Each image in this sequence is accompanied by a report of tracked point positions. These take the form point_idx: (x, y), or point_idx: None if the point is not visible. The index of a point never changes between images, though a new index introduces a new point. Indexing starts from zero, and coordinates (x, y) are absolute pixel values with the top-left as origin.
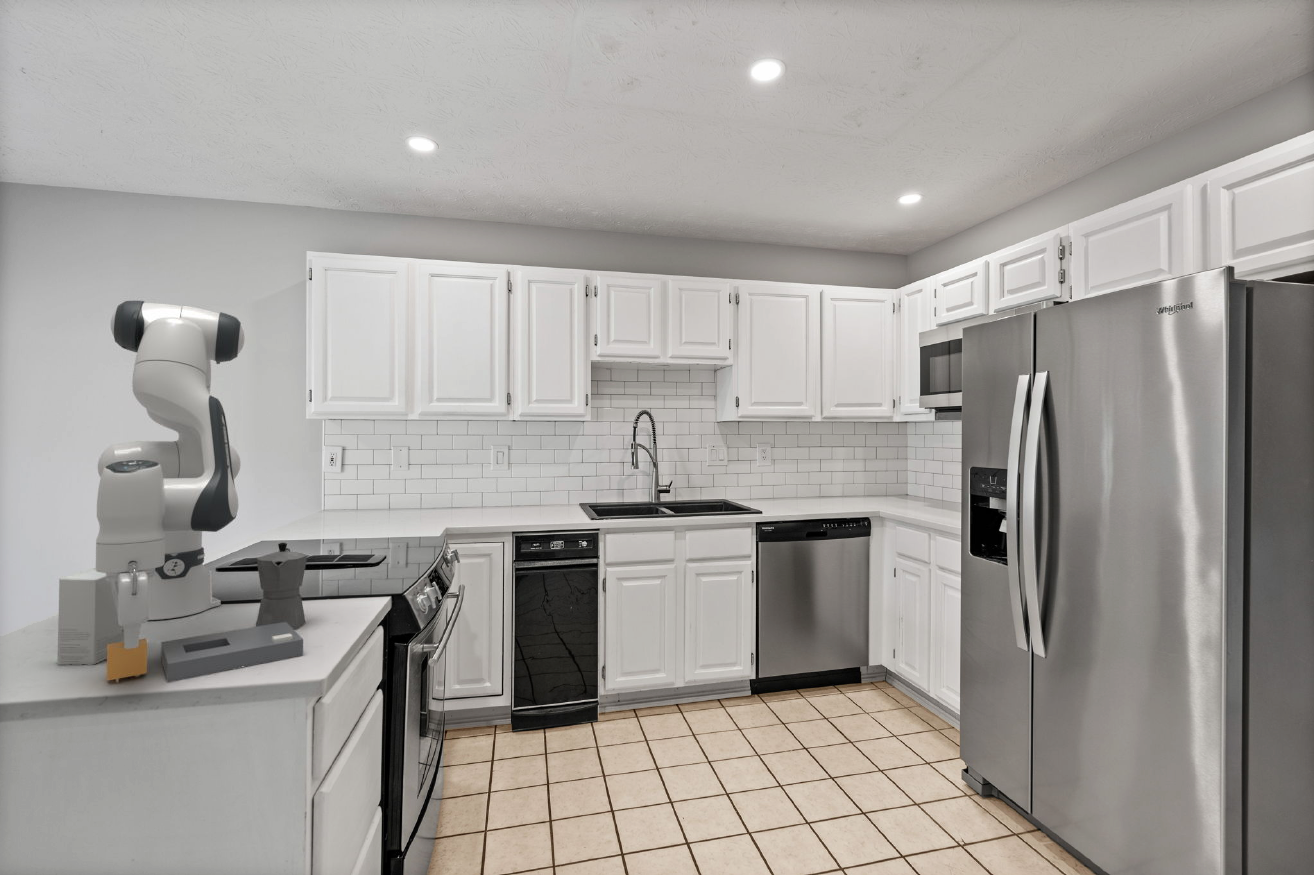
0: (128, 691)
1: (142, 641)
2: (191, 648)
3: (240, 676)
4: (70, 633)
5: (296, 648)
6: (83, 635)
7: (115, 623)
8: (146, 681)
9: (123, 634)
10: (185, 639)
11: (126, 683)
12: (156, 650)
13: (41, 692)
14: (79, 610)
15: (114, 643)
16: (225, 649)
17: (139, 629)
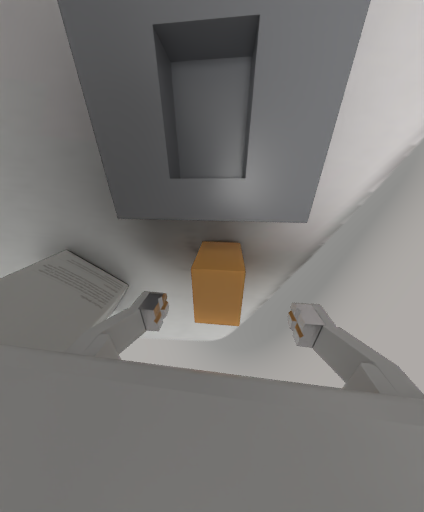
0: (287, 264)
1: (218, 277)
2: (171, 157)
3: (413, 46)
4: None
5: None
6: None
7: (41, 301)
8: (257, 241)
9: (167, 309)
10: (116, 166)
11: (245, 263)
12: (84, 213)
13: (210, 326)
14: None
15: (196, 314)
16: (304, 46)
17: (378, 355)
